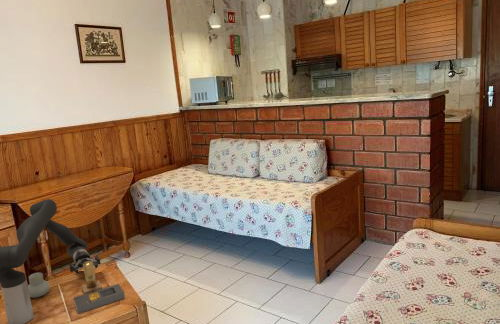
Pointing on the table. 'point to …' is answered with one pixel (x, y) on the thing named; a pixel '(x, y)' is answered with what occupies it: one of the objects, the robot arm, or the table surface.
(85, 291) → the pad
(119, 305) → the table surface
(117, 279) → the table surface
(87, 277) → the peg
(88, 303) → the rack plate
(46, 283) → the air freshener
